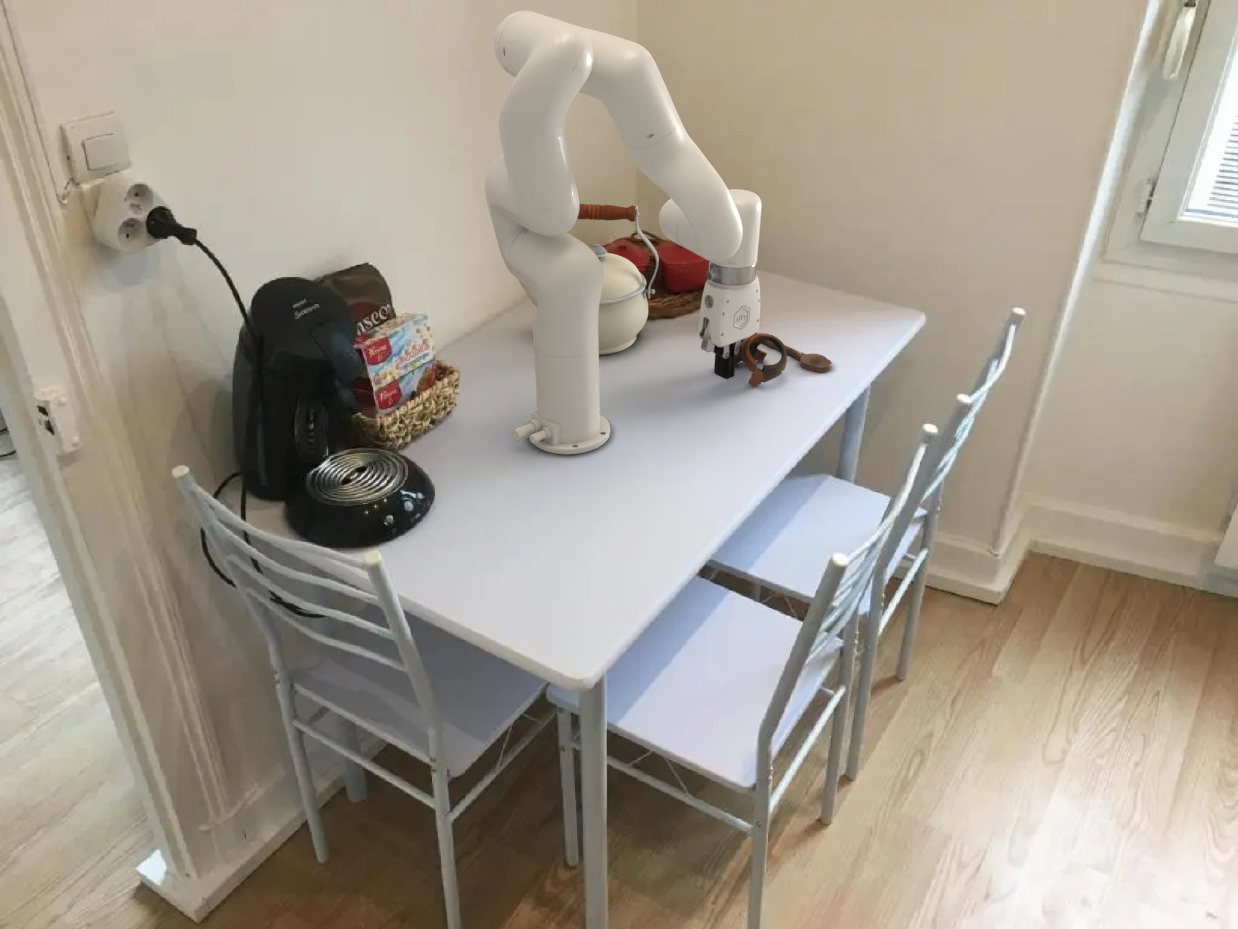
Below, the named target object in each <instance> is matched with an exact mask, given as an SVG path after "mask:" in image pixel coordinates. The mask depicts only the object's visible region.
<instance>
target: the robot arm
mask: <svg viewBox="0 0 1238 929" xmlns="http://www.w3.org/2000/svg"><path fill="white" fill-rule="evenodd" d="M493 50H494V54H495V57H496V60H497V62H498V64H499V65H500V67H501V68H502V69H503V70H504V71H505V72H506V73H508V74H509V75H510V76H511V77H514V79H513V82H512V83H511V85H510V87H509V89H508V91H507V93H506V95H505V97H504V100H503V102H502V105H501V109H500V112H499V119H498V120H499V121H498V129H499V130H498V131H499V138H500V143H501V148H502V152H501V153H500V154H498V155H497V156H496V157H495V158H494V159H493V161H492V162H491V163H490V165H489V168H488V170H487V173H486V175H485V176H486V177H485V183H484V192H485V199H486V204H487V208H488V212H489V215H490V219H491V223H492V226H493V230H494V234H495V238H496V240H497V245H498V248H499V252H500V255H501V257H502V260H503V263H504V265H505V266H506V268H507V270H508V271H509V273H510V274H511V275H512V276H513V277H514V278H515V279H517V281H518V280H519V281H521V282H522V283H523V284H525V285H526V286H528V287H529V288H530V289H531V290H532V291H534V292H535V293H536V294H537V297H538V307H536V312H535V314H534V317H533V323H532V324H533V325H532V338H533V339H532V342H533V356H534V357H533V358H534V374H535V376H534V377H535V392H536V409H537V410H534V411H532V412H531V419H530V420H529V421H527V424H525V425H522V426H518V427H516V428H514V429H512V430H511V436H512V438H513V440H514V441H515V442H521V441H523V440H525V439H528V438H529V441H530V443H531V444H533V445H534V446H535V447H536V448H538V449H540V450H542V451H545V452H548V453H552V454H557V455H578V454H583V453H588V452H592V451H594V450H596V449H598V448H600V447H601V446H602V445H604V444H605V443H606V442H607V441H608V440H609V438H610V436H611V424H610V421H608V419H607V418H606V417H605V416H603V415H602V414H601V405H600V404H601V403H600V402H601V398H600V355H599V342H598V313H599V304H600V298H601V293H602V287H603V269H602V265H601V263H600V260H599V259H598V257H597V255H596V254H595V253H594V252H593V251H592V249H590V248H589V245H588V244H586V243H585V242H584V241H581V240H580V239H578V238H577V237H576V236H573V235H572V234H570V233H568V232H569V231H571V229H572V228H573V227H574V226H575V225H576V223H577V220H578V219H577V218H578V214H579V204H580V197H579V191H578V186H577V183H576V178H575V173H574V169H573V164H572V159H571V155H570V151H569V146H568V140H567V133H566V131H567V130H566V120H567V115H568V112H569V109H570V107H571V105H572V103H573V101H574V99H575V98H576V96H577V95H578V93H580V94H584V95H587V96H589V97H591V98H594V99H596V100H598V101H600V102H601V103H602V105H603V106H604V107H605V109H606V111H607V114H608V116H609V117H610V119H611V121H612V123H613V125H614V127H615V129H616V131H617V133H618V135H619V137H620V139H621V142H622V143H623V145H624V147H625V149H626V151H627V154H628V156H629V158H630V160H631V162H632V163H633V164H634V166H636V168H637V169H638V170H639V171H640V172H641V173H642V174H643V175H644V176H645V177H646V178H647V179H648V180H649V181H650V182H652V184H654V185H655V186H657V187H658V188H659V189H660V190H661V191H662V192H664V193H665V194H666V195H667V196H668V198H669V199H668V200H667V201H666V202H665V203H664V204H663V205H662V206H661V208H660V210H659V213H658V226H659V228H660V231H661V232H662V234H663V235H664V236H665V237H666V238H667V239H668V240H670V241H671V242H673V243H674V244H676V245H678V246H680V247H682V248H684V249H686V250H688V251H690V252H692V253H693V254H695V255H697V256H699V257H701V258H703V259H704V260H706V261H707V262H708V264H707V271H706V273H705V278H706V279H707V280H706V281H705V283H704V287H703V290H702V295H701V302H700V308H699V315H698V316H699V317H698V336H699V339H701V340H702V341H701V344H700V349H701V350H702V351H704V352H706V353H712V354H714V366H713V373H714V375H716V376H717V377H720V378H722V379H724V380H729V379H730V378H731V379H732V378H734V377H735V375H736V374H735V372H736V366H735V362H736V355H737V354H738V353H739V350H740V345H741V343H742V342H743V340H744V339H746V338H748V337H750V336H752V335H754V334H755V333H758V331H759V328H760V322H761V287H760V281H759V276H758V275H757V264H758V255H759V253H758V252H759V242H760V231H761V219H762V205H763V204H762V199H761V198H760V196H759V195H758V194H756V193H755V192H753V191H751V190H747V189H740V188H739V189H738V188H731V189H729V188H728V187H727V185H726V183H725V182H724V180H723V178H722V177H721V176H720V175H719V173H718V171H717V170H716V169H715V167H714V166H713V165H712V164H711V162H710V161H709V160H708V159H707V157H706V156H705V155H704V153H703V152H702V151H701V149H700V148H699V147H698V145H697V144H696V143H695V142H694V140H693V139H692V138H691V137H690V135H689V134H688V132H687V130H686V128H685V126H684V124H683V122H682V120H681V117H680V115H679V113H678V111H677V108H676V107H675V104H674V102H673V99H672V97H671V95H670V92H669V90H668V87H667V85H666V83H665V81H664V79H663V76H662V74H661V72H660V70H659V67H658V65H657V63H656V61H655V59H654V58H653V56H652V54H651V52H649V51H648V50H647V49H646V48H645V47H644V46H643V45H641V44H640V43H637V42H635V41H632V40H630V39H626V38H622V37H621V36H617V35H613V34H611V33H607V32H604V31H600V30H599V31H598V30H594V29H591V28H587V27H583V26H579V25H576V24H573V23H569V22H567V21H564V20H561V19H559V18H556V17H551V16H548V15H545V14H542V13H539V12H536V11H532V10H519V11H515V12H513V13H510V14H509V15H508V16H505V18H503V20H502V21H501V22H500V23H499V25H498V27H497V29H496V30H495V34H494V37H493ZM519 281H518V282H519Z"/></svg>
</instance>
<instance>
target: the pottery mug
mask: <svg viewBox="0 0 1238 929" xmlns="http://www.w3.org/2000/svg"><path fill="white" fill-rule="evenodd" d="M768 340H769V341H770V342H772V343H774V344H775V346H776V347H778V348H779V349H780V350H779V351H780V355H781V357H780V359H779V361H778V362H776V363H774V364H763V365H762V368H759V367H757V364H758V362H760V363H764V361H765V359H766V357H767V355H768V353H767V352H766V351H763V350H761V349H759V348H758V347H759V346H760V345H761V344H762V342H766V341H768ZM784 345H785V343H783V342H782V340H781V339H779V338H778V337H777V336H774V335H772V334H769V333H764V332H758V334H754V335H752V336H749V337H747V338H746V339H744V340H743V342H742V343H741V345H740V350H739V353H738V354H737V355H736V362H735V367H737V366H738V365H739V364H740V363H741V362H742V363H743V364H744V365H745V368H747V370H749V371H750V373H751V377H750V378H749V379H748V384H749V385H751V386H754V387H759V385H761V383H766V382H769V381H772V380H774V379H776V378H778V377H779V376H781V375H782V374H783V371H785V370H786V367H787V364H788V354H787V350H786V348H785V346H784Z"/></svg>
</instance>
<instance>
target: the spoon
mask: <svg viewBox="0 0 1238 929" xmlns="http://www.w3.org/2000/svg"><path fill="white" fill-rule="evenodd" d="M755 334H759V332H756V333H755ZM761 344H764V345H766V346H769V347H771V348H773V349H775V350H778V351H780V349H779V348H778V347H776V346H775V344H774V343H772V342H770V341H769V340H768V341H766V342H761ZM784 346H785V348H786V350H787V355H789V356H792V357H794V359H795V360H796V361H799V365H800V366H801V368H803V369H805V370H806V371H812V372H815V373H827V372H830V371H831V370H832V364H833V362H832V361H831V360H830V359H828V358H827V357H826V356H824V355H823V354H820V353H819V354H818V353H804V352H801V351H799V350H797V349H795V348H793V347H790V346H788V345H787V344H786V345H785V344H784Z"/></svg>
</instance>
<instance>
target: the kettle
mask: <svg viewBox="0 0 1238 929" xmlns="http://www.w3.org/2000/svg"><path fill="white" fill-rule="evenodd" d="M639 216H640V212H639V206H638V205H629V206H627V207H624V206H619V205H613V204H596V203H595V204H591V203H589V204H587V203H579V214H578V218H577V220H589V221H592V220H594V221H596V220H597V221H601V220H602V221H619V220H627V221H629V222H631V223H633V222H634V224H635V231H636V232H637V234H638V236H639V237H640V238H641V239H642V240H643V242H644V243H645V244H646V245H647V247H648V248H649V249H650V251H651V252H652V254H653V256H654V259H655V270H654V272H653V275H652V277H651V279H650V282H649V284H648V288H646V287H647V279H646V278H645V276H644V274H642V273H641V272H640V271H639V269H638V268H637V266H636V265H635V264H634V262H632V261H630V260H629V259H628V258H626V257H623V256H621V255H618V254H615V253H612V252H611V253H610V252H608V250H607V249H605V247H604V246H603V245H601V244H598V243H593V244H590V245H588V247H589V248H590V249H592V251H593V252H594V253H595V254H596V255H597V257H598V259H599V260H600V263H601V265H602V269H603V287H602V293H601V298H600V304H599V313H598V342H599V356H600V355H601V356H602V355H610V354H615V353H618V352H621V351H624V350H626V349H628V348H630V347H631V346H632V345H633V344H634V343H635V342H636V340H637V335H638V334H639V333H640V331H642V329H643V328H644V326H645V324H646V323H647V320H648V316H649V303H648V300H650V299H651V295H654V294H655V293H656V290H655V289H652V288H651V287H652V284H653V283H654V280H655V278H656V275H657V272H658V268H659V261H660V258H659V254H658V251H657V250H656V248H655V247H654V245H653V244H652V242H651V241H650V239H648V237H647V236H646V235H645V234H644V232H643V231H642V230H641V229H640V225H639ZM517 281H518V282H519V284H520V286H521V287H522V289H523V290H524V292H525V293H526V295H527V296H528V298H529V299H530V301H531V303H532V304H533V305H534V306H535V307H536V308H537V307H538V297H537V294H536V293H535V292H534V291H532V290H531V289H530V288H529V287H528V286H526V285H525V284H523V283H522V282H521V281H519V280H518V279H517Z"/></svg>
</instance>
